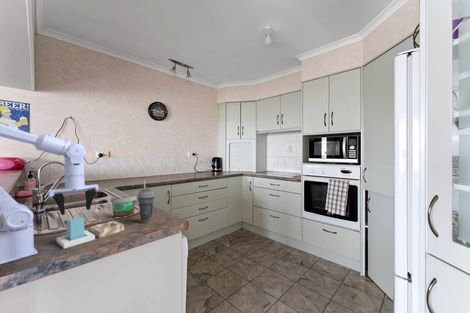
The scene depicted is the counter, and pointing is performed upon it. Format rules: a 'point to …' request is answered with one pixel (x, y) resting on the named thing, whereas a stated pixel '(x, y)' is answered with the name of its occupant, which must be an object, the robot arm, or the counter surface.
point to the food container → (123, 206)
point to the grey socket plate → (75, 240)
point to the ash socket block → (107, 228)
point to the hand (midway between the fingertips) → (75, 211)
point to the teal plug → (75, 228)
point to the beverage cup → (146, 204)
